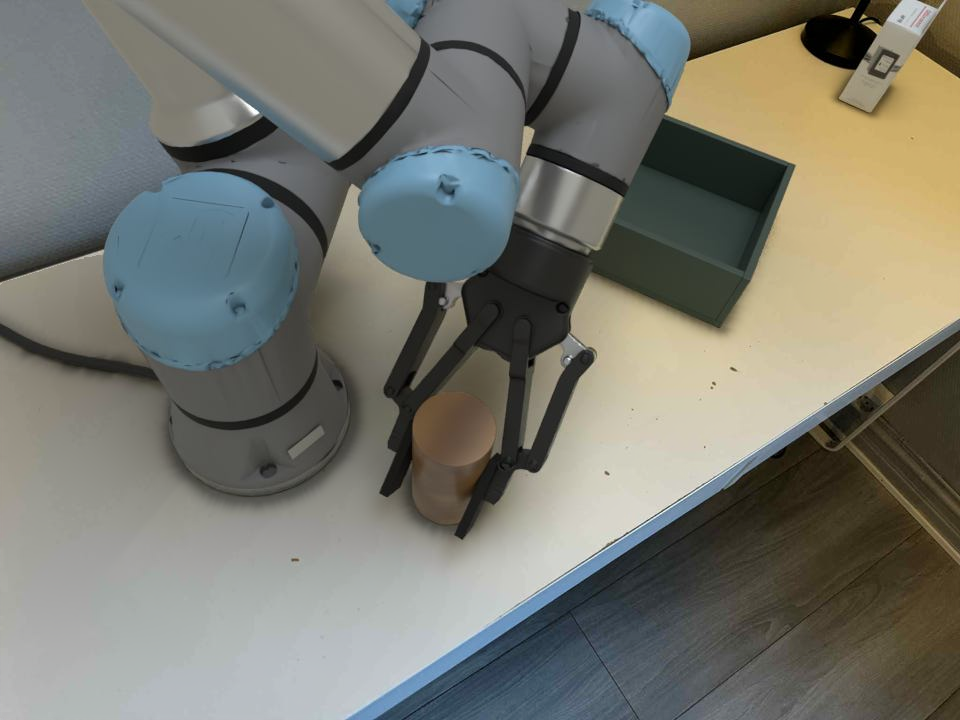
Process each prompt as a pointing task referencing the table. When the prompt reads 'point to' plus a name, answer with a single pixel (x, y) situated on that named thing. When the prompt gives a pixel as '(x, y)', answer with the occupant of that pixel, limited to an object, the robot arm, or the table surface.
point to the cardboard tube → (449, 453)
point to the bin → (694, 220)
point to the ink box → (888, 53)
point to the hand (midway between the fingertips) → (426, 509)
